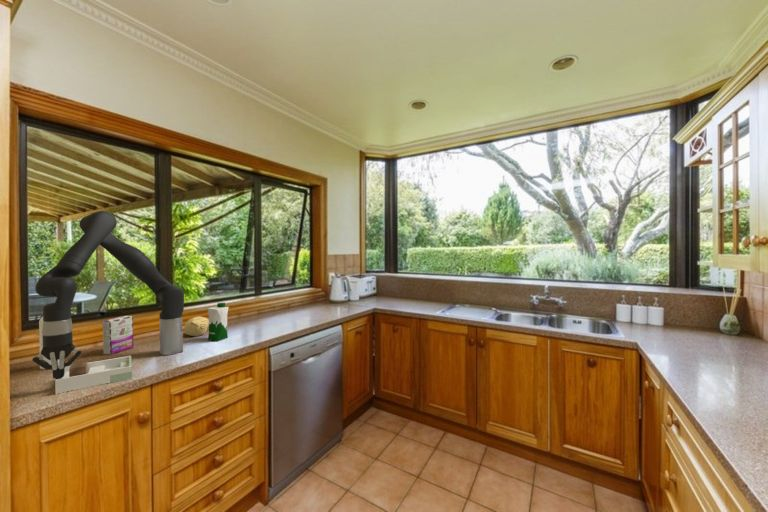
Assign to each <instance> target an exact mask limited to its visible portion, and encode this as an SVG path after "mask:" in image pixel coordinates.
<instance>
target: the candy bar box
mask: <svg viewBox="0 0 768 512" xmlns="http://www.w3.org/2000/svg"><path fill="white" fill-rule="evenodd" d="M133 319H134V318H133V316H132V315H124V316H123V315H122V316H118V317H114V318H110V319H106V320H102V342H103V343H102V345H103V346H102V349H103V355H108V354H109V355H110V356H112V355H115V354H119V353H120V352H125V351H127V350H130V349H132V348H134V322H133V321H134V320H133Z"/></svg>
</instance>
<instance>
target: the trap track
mask: <svg viewBox="0 0 768 512" xmlns="http://www.w3.org/2000/svg"><path fill="white" fill-rule="evenodd" d="M132 361H133V360H132V355H127V356H120V357H115V358H110V359H103V360H97V361H91V362H86V363H87V374H84V375H78V376H73V377H69V368H70V366H71V365H70V366H67V367H65V374H64V377H62V379H56V378H55V388H54V389H55V395H59V394H58V393H60V394H63V393H62V392H64V393H68V392H67V391H69V392H72V391H71V390H74V391H78V390H77V389H79V390H83V389H82V388H84V389H87V388H86V387H89V388H92V387H91V386H94V387H97V386H96V385H99V384H104V383H109V384H111V383H110V382H114V383H116V382H115V381H119V382H122V381H121V380H124V381H128V380H127V379H129V380H131V379H130V378H132V379H133V362H132ZM104 385H105V384H104ZM99 386H100V385H99Z"/></svg>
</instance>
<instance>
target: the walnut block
mask: <svg viewBox="0 0 768 512" xmlns="http://www.w3.org/2000/svg"><path fill="white" fill-rule="evenodd" d="M87 363H88V362H82V363H76V364H71V365H70V368H69V377H73V376H78V375H84V374H87Z"/></svg>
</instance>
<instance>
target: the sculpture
mask: <svg viewBox="0 0 768 512" xmlns="http://www.w3.org/2000/svg"><path fill="white" fill-rule="evenodd" d="M208 329H209V318H207V317H204V316H200V315H199V316H194V317H191V318H190V319H188V320H187V321H186V322H185V324H184V329H183V330H184V333H185V334H186V335H187V336H192V337H199V336H203V335H204V334H206V332H207V330H208Z"/></svg>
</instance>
